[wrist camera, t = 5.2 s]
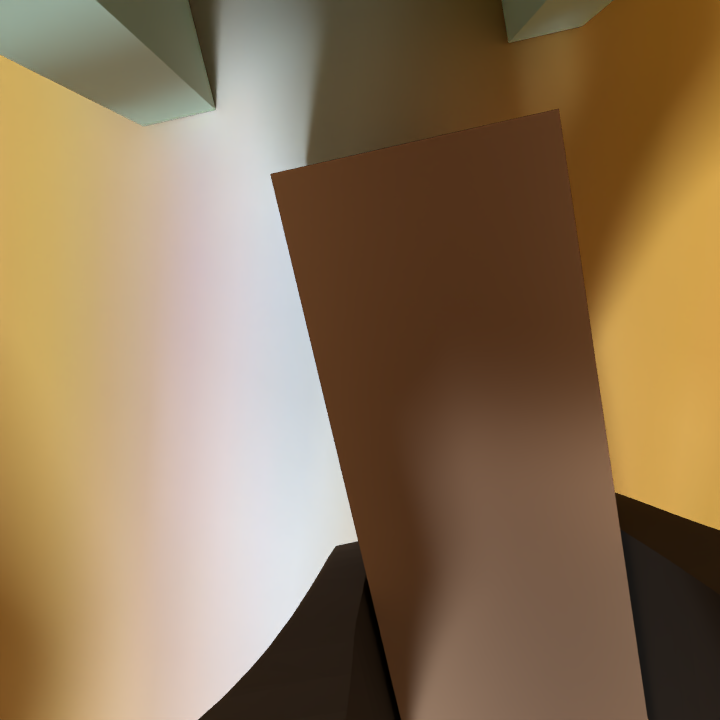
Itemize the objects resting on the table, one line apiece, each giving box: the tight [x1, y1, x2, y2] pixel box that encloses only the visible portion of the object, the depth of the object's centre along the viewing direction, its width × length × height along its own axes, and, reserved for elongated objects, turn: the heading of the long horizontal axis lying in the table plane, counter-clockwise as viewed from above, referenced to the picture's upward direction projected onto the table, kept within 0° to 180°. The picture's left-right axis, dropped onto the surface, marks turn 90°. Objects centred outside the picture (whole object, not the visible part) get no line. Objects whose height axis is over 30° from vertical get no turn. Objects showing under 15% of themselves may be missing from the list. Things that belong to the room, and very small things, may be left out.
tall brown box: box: [271, 109, 648, 720], centre depth 11 cm, size 3×13×5 cm, turn 12°
